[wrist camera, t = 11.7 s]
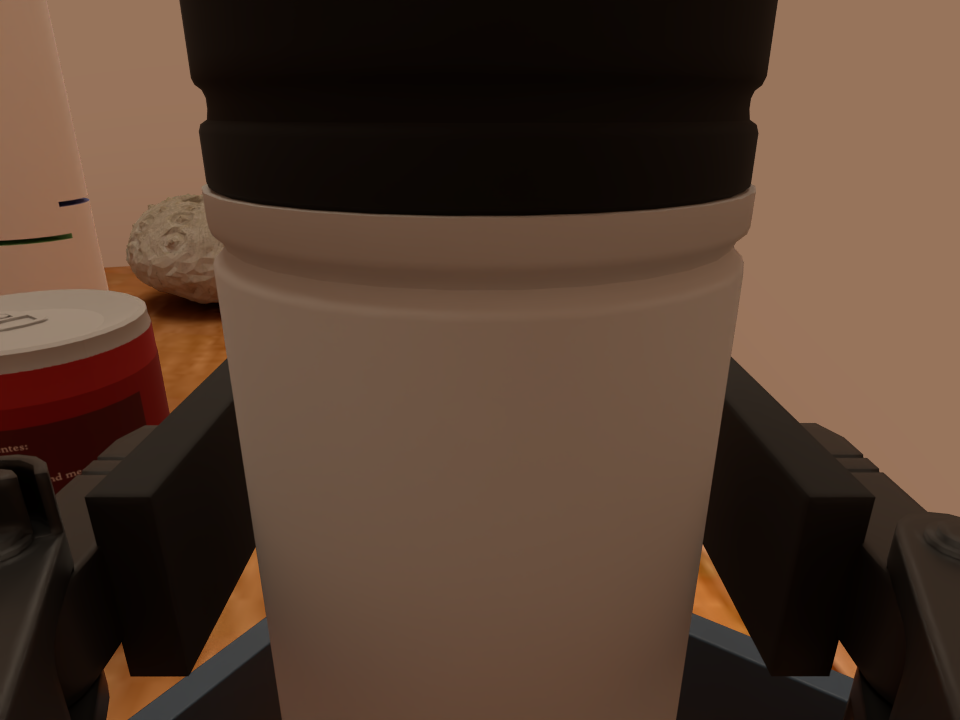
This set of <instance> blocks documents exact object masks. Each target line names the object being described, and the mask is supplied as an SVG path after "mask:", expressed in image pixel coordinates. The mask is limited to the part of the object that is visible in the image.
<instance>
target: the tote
mask: <svg viewBox="0 0 960 720" xmlns="http://www.w3.org/2000/svg"><path fill="white" fill-rule="evenodd" d="M853 680H854V679H853V678H851V677H848V676H846V675H843V674H841V673H839V672H836V671H834V670H831V672H830V676H771V675H770V673H769V671H768V669H767V667H766V665H765V663H764V661H763V659H762V657H761V655H760V654H759V652H758V650H757V648H756V646H755V644H754V642H753V640H752V638H751V637H750V636H747V635H745V634H742V633H740V632H737V631H735V630H733V629H730V628H728V627H725V626H723V625H720V624H718V623H715V622H713V621H710V620H708V619H705V618H703V617H701V616H698V615H696V614H693V613H692V617H691V624H690V630H689V637H688V643H687V650H686V657H685V663H684V670H683V677H682V683H681V690H680V697H679V703H678V710H677V716H676V720H843V717H844V713H845V709H846V706H847V702H848V698H849V695H850V691H851V688H852V684H853ZM128 720H282V716H281V710H280V703H279V697H278V690H277V683H276V677H275V670H274V663H273V657H272V650H271V644H270V637H269V630H268V624H267V617H265V618H264V619H263V620H261V621H260V622H259V623H257V624H256V625H255V626H253V627H252V628H251V629H249V630H248V631H247V632H245V633H244V634H243V635H241V636H240V637H239V638H237V639H236V640H235V641H233V642H232V643H230V644H229V645H228V646H226V647H225V648H224V649H222V650H221V651H220V652H218V653H217V654H216V655H214V656H213V657H212V658H210V659H209V660H208V661H206V662H205V663H204V664H202V665H201V666H200V667H198V668H197V669H196V670H194V671H193V672H191V673H190V675H189V676H186V677H185V678H183V679H182V680H181V681H179V682H178V683H177V684H175V685H174V686H173V687H171V688H170V689H169V690H167V691H166V692H165V693H163V694H162V695H161V696H159V697H158V698H156V699H155V700H154V701H152V702H151V703H150V704H148V705H147V706H146V707H144V708H143V709H142V710H140V711H139V712H138V713H136V714H135V715H134V716H132V717H131V718H130V719H128Z"/></svg>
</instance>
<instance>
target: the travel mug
mask: <svg viewBox="0 0 960 720" xmlns="http://www.w3.org/2000/svg"><path fill="white" fill-rule="evenodd" d="M777 3H778V0H180V7H181V14H182V20H183V27H184V34H185V41H186V48H187V54H188V61H189V68H190V75H191V79H192V81H193V83H194V84H195V85H196V86H197V87H198V88H200V89H201V90H202V91H203V93H204V95H205V97H206V103H207V120H206V121H204V122H203V123H202V124H200V129H199V135H200V142H201V149H202V155H203V162H204V169H205V176H206V182H207V184H206V185H204V186H202V193H203V200H204V207H205V213H206V220H207V223H208V227H209V230H210V232H211V234H212V236H213V237H215V238H216V239H217V240H219V241H220V242H221V243H223V244H224V247H223V248H222V250H221V251H220V252H219V254H218V255H217V256H216V258H215V260H214V263H213V266H214V273H215V279H216V286H217V293H218V299H219V306H220V313H221V319H222V326H223V332H224V339H225V346H226V352H227V359H228V365H229V372H230V379H231V385H232V392H233V399H234V405H235V412H236V418H237V425H238V432H239V438H240V445H241V452H242V458H243V465H244V471H245V478H246V485H247V491H248V498H249V505H250V511H251V518H252V524H253V531H254V538H255V544H256V551H257V557H258V564H259V571H260V577H261V584H262V591H263V597H264V604H265V610H266V617H267V624H268V630H269V637H270V644H271V650H272V657H273V663H274V670H275V677H276V683H277V690H278V697H279V703H280V710H281V716H282V720H676V716H677V710H678V703H679V697H680V690H681V683H682V677H683V670H684V663H685V657H686V650H687V643H688V637H689V630H690V624H691V617H692V610H693V604H694V597H695V590H696V584H697V577H698V571H699V564H700V557H701V551H702V544H703V537H704V531H705V524H706V517H707V511H708V504H709V498H710V491H711V484H712V478H713V471H714V464H715V458H716V451H717V445H718V438H719V431H720V425H721V418H722V411H723V405H724V398H725V391H726V385H727V378H728V372H729V365H730V358H731V351H732V345H733V338H734V332H735V325H736V319H737V312H738V305H739V299H740V292H741V285H742V279H743V266H744V262H743V258H742V256H741V255H740V254H739V253H738V252H737V251H736V250H735V248H734V245H735V243H736V242H737V241H738V240H740V239H741V238H742V237H744V236H745V235H746V234H747V233H748V230H749V228H750V225H751V219H752V212H753V206H754V199H755V186H754V185H752V184H751V179H752V173H753V166H754V159H755V152H756V145H757V139H758V129H757V125H756V124H755V123H753V122H752V121H751V120H750V114H749V108H750V101H751V97H752V95H753V93H754V91H755V90H756V89H758V88H759V87H760V86H762V84H763V82H764V80H765V78H766V76H767V71H768V64H769V57H770V50H771V44H772V37H773V30H774V23H775V16H776V9H777Z"/></svg>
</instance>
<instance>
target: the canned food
mask: <svg viewBox="0 0 960 720" xmlns="http://www.w3.org/2000/svg"><path fill="white" fill-rule="evenodd" d="M168 415H169V408H168V403H167V398H166V392H165V387H164V382H163V376H162V371H161V366H160V361H159V355H158V350H157V346H156V343H155V338H154V333H153V328H152V323H151V319H150V316H149V314H148V312H147V307H146V304H145V302H144V301H142V300H141V299H140V298H138V297H135V296H132V295H129V294H125V293H120V292H114V291H106V290H91V289H67V290H47V291H35V292H25V293H16V294H9V295H2V296H0V456H5V455H17V454H19V455H27V456H36V457H38V458H39V459H41V460H43V461H44V462H46V463H47V467H48V471H49V474H50V478H51V481H52V485H53V489H54V492H55V495H56V494H57V493H58V492H59V491H60V490H61V489H62V488H64V487H65V486H66V485H67V484H68V483H69V482H70V481H71V480H72V479H74V478H75V477H76V476H77V475H81V474H82V470H84V469H85V468H86V467H87V466H88V465H89V464H90V463H91V462H92V461H94V460H97V459H98V458H97V457H98V456H99V455H100V454H101V453H102V452H104V451H105V450H106V449H107V448H108V447H109V446H110V445H111V444H112V443H114V442H115V441H116V440H117V439H119V438H121V437H123V436H125V435H127V434H129V433H131V432H133V431H135V430H137V429H139V428H141V427H143V426H145V425H159V424H160V423H161V422H162V421H163V420H164V419H165V418H166V417H167V416H168Z"/></svg>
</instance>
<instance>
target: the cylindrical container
mask: <svg viewBox="0 0 960 720" xmlns="http://www.w3.org/2000/svg"><path fill="white" fill-rule="evenodd" d="M87 196H88V192H87V187H86V182H85V177H84V173H83V168H82V163H81V158H80V154H79V149H78V144H77V139H76V135H75V130H74V125H73V120H72V116H71V111H70V106H69V101H68V97H67V92H66V87H65V82H64V78H63V73H62V68H61V64H60V59H59V54H58V50H57V45H56V40H55V36H54V31H53V26H52V22H51V17H50V13H49V8H48V3H47V0H0V296H2V295H9V294H16V293H25V292H35V291H47V290H67V289H91V290H106V291H109V290H108V285H107V280H106V276H105V271H104V266H103V262H102V257H101V252H100V248H99V243H98V238H97V234H96V229H95V224H94V220H93V215H92V210H91V206H90V201H89V199H87V198H84V197H87Z"/></svg>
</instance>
